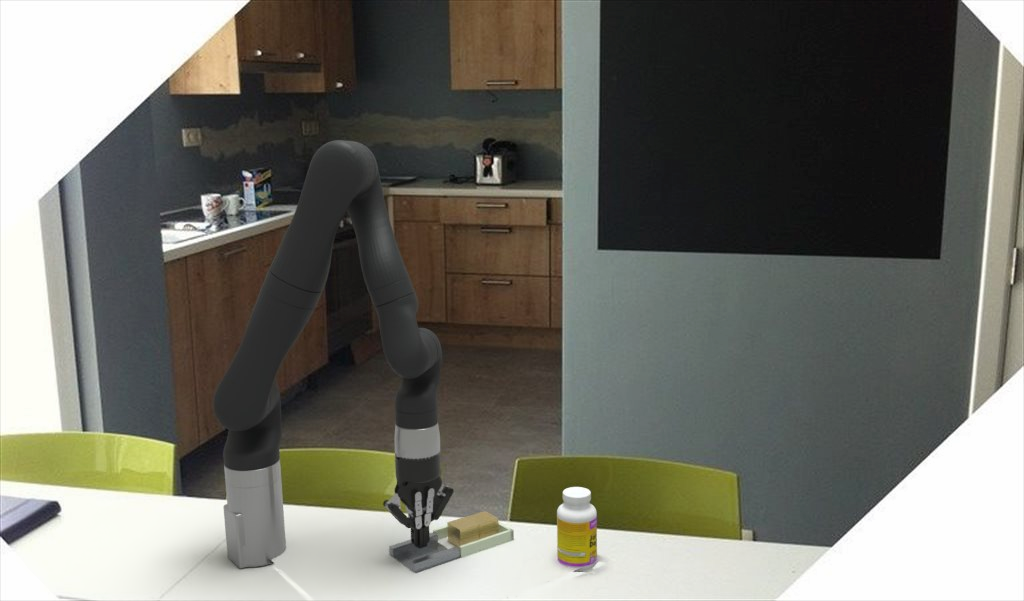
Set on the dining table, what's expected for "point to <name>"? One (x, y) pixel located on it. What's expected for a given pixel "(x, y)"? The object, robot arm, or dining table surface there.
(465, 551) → the tray
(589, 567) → the supplement bottle
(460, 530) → the brass block
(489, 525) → the brass block
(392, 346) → the robot arm
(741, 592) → the dining table surface
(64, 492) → the dining table surface
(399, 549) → the slot rail
